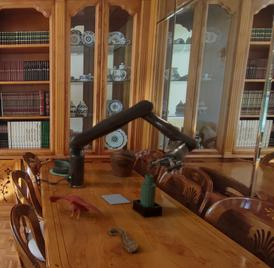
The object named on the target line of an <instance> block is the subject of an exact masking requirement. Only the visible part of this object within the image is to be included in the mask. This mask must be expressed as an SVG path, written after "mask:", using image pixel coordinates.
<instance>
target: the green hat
mask: <svg viewBox="0 0 274 268" xmlns="http://www.w3.org/2000/svg"><path fill="white" fill-rule="evenodd" d="M53 162H54V164H53V168H51V169H50V170H49V171H48V172H49V174H52V175H54V176H60V177H65V175H68V170H69V159H67V158H58V159H54V161H53Z"/></svg>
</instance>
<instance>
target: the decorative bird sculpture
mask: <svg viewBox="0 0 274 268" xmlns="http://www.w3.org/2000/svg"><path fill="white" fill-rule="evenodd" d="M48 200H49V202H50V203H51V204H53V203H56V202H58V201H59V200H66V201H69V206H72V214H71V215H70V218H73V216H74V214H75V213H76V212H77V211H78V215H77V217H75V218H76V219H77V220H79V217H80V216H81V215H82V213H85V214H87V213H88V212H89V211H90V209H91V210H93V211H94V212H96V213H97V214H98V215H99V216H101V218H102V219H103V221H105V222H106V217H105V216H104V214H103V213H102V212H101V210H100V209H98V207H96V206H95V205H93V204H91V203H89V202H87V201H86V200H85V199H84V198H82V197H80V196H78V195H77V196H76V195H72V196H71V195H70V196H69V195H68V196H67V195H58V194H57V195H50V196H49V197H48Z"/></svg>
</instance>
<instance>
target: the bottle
mask: <svg viewBox="0 0 274 268" xmlns="http://www.w3.org/2000/svg"><path fill="white" fill-rule="evenodd" d="M156 189H157V184H156V183H154V175H152V174H145V175H144V181H142V182H141V186H140V204H141V205H142V206H144V207H145V208H146V207H154V206H155V202H156V193H157V190H156Z"/></svg>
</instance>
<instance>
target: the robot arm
mask: <svg viewBox="0 0 274 268" xmlns="http://www.w3.org/2000/svg"><path fill="white" fill-rule="evenodd" d="M154 108H155V105H154V103H153V101H151V100H149V99H141V100H139V101H138V102H137V103H135V104H134V105H132V106H130V107H128V108H127V109H125V110H122V111H119V112H116V113H114V114H112V115H109V116H107V117H105V118H103V119H101V120H100V121H98V122H97V123H95V124H94V125H93V126H92V127H91V128H88V129H86V130H84V131H80V132H78V131H75V132H73V133H71V134H70V135H69V139H68V154H69V155H68V156H69V157H68V158H69V159H68V160H69V170H68V175H65V176H64V178H61V179H58V180H57V181H55V182H50V180H47V179H42V178H40V179H39V178H37V179H35V180H36V182H38V181H41V182H47V183H48V184H49V185H58V184H59V183H60V182H61V181H66V183H67V185H68V186H69V187H70V188H74V189H75V188H76V189H81V188H84V187H85V164H86V163H85V160H86V153H85V147H86V146H87V145H89V144H91V143H92V142H94V141H96V140H98V139H101V138H103V137H105V136H108V135H109V134H112V133H114V132H116V131H118V130H120V129H121V128H123V127H125V126H126V125H128V124H130V123H131V122H133V121H135V120H138V119H141V120H144V121H145V122H147V123H148V124H149V125H151V126H152V127H154V128H155V129H156V130H158V131H159V133H161V134H162V135H163V136H164V137H165V138H167V139H168V140H169V141H171V142H172V143H173V142H178V141H179V142H178V143H176V145H175V146H173V148H170V149H169V150H168V151H167V152H165V153H164V154H163V156H162V157H161V158H158V157H154V158H152V159H150V160H149V162H148V163H149V165H148V169H149V170H150V171H152V170H154V169H155V168H161V167H166V171H167V173H168V174H169V173H172V172H173V171H175V170H177V171H180V170H181V169H182V168H183V167H184V161H183V160H184V159H185V158H186V157H187V156H188V154H189V153H191V152H192V151H194V150H195V149H197V148H198V147H199V142H198V140H196V138H195V137H194V136H193V137H192V136H191V135H188V134H187V133H185V132H183V131H181V130H179V129H178V128H177V127H176V126H175V125H173V124H172V123H171V122H169V121H167V120H165V119H163V118H162V117H160V116H159V115H158V114H157V113H155V112H154Z"/></svg>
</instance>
